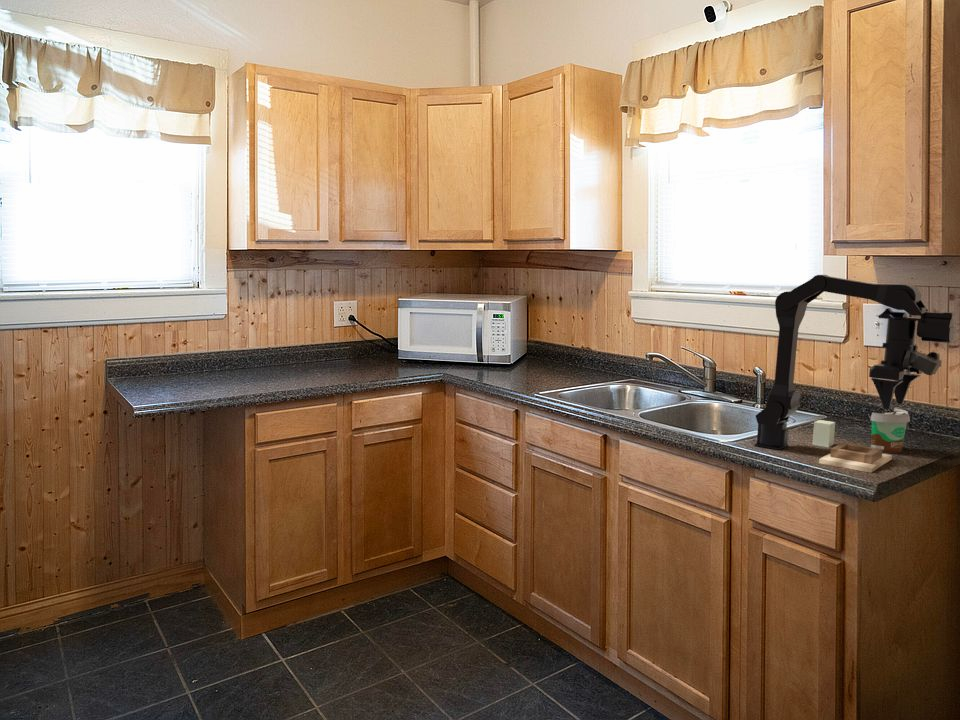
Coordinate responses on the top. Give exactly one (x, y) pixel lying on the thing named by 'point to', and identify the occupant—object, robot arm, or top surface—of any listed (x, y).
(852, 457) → the post base
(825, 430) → the pale green block
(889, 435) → the food container
